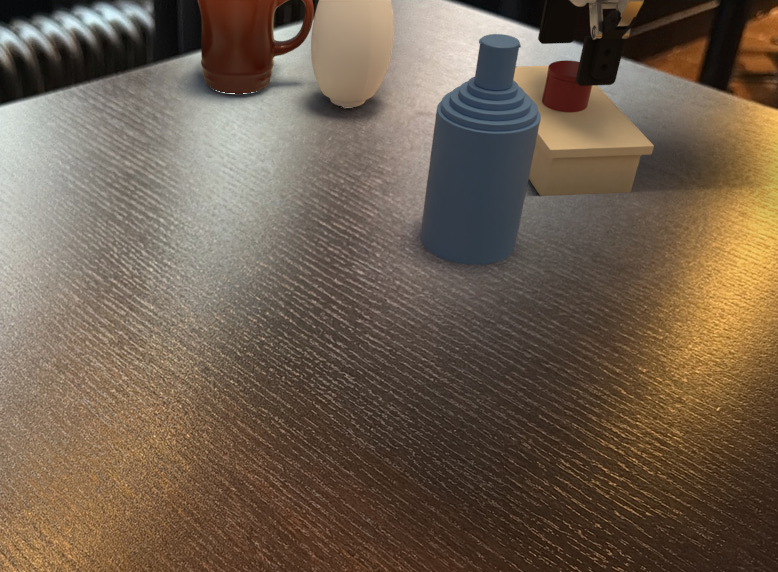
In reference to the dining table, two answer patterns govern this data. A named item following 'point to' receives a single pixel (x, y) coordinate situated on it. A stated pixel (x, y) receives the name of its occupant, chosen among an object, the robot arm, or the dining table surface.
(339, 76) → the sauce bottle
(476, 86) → the bottle
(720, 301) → the dining table surface
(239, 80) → the mug
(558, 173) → the sill
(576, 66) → the cap
